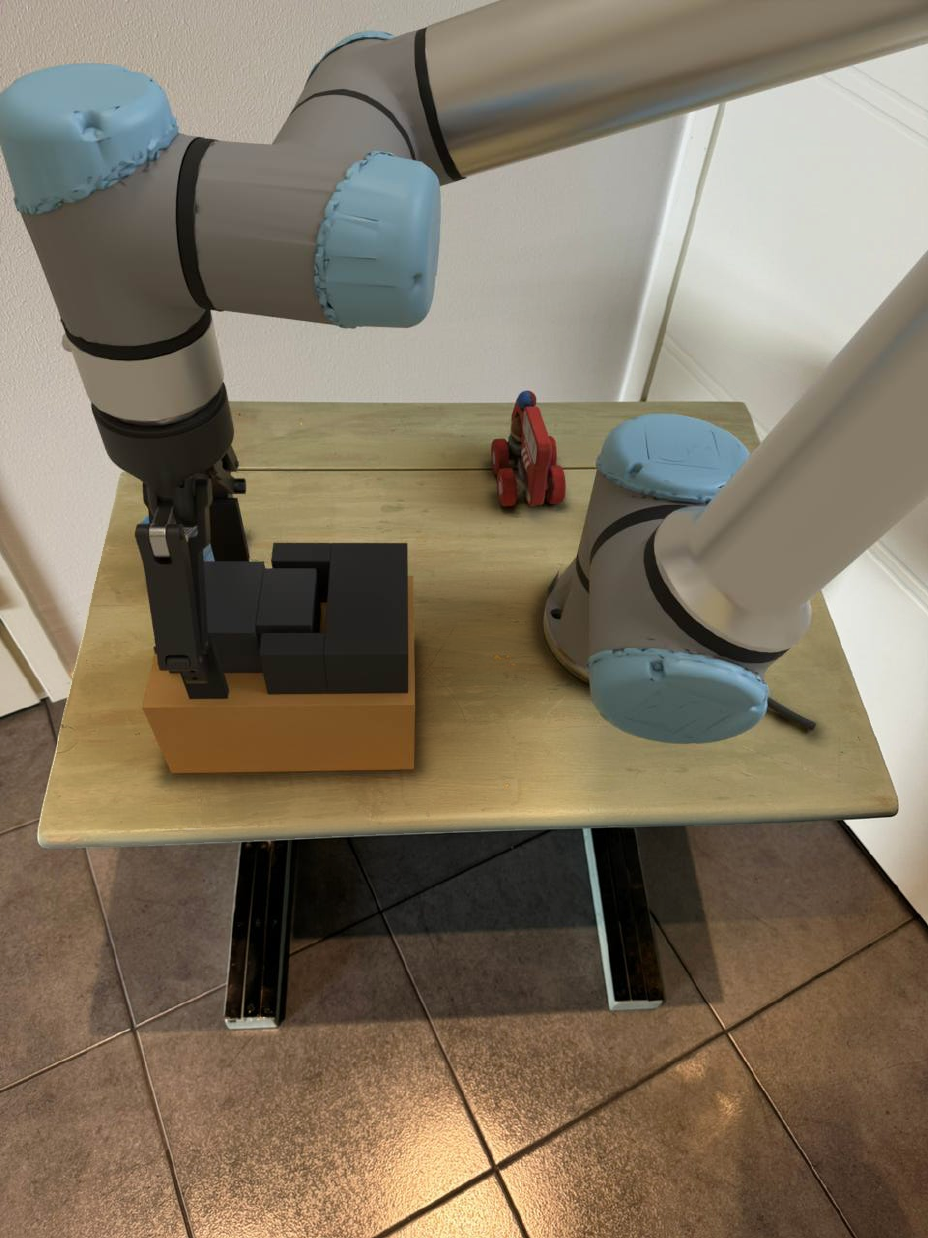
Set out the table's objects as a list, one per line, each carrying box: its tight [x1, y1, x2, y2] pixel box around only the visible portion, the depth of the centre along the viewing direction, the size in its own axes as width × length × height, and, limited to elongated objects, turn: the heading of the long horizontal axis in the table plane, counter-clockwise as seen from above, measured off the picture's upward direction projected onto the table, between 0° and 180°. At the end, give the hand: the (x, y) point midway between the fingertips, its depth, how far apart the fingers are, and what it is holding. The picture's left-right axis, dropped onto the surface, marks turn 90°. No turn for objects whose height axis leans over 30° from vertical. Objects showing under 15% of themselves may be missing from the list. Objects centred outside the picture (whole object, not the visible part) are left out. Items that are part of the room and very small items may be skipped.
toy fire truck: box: [490, 390, 567, 507], centre depth 90 cm, size 7×12×10 cm, turn 7°
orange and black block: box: [141, 542, 416, 774], centre depth 68 cm, size 20×13×15 cm, turn 93°
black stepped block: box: [169, 560, 321, 673], centre depth 64 cm, size 11×7×5 cm, turn 93°
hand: (221, 623), depth 64 cm, fingers open, 12 cm apart
